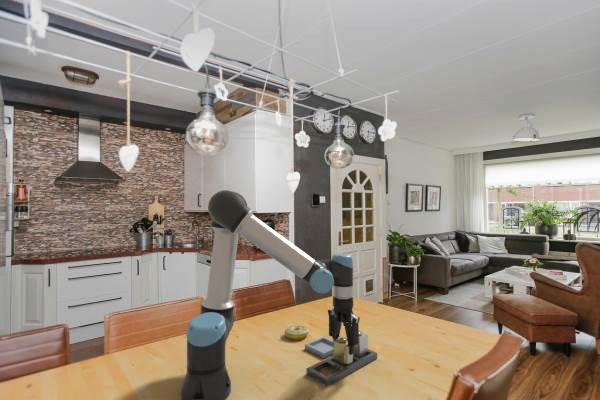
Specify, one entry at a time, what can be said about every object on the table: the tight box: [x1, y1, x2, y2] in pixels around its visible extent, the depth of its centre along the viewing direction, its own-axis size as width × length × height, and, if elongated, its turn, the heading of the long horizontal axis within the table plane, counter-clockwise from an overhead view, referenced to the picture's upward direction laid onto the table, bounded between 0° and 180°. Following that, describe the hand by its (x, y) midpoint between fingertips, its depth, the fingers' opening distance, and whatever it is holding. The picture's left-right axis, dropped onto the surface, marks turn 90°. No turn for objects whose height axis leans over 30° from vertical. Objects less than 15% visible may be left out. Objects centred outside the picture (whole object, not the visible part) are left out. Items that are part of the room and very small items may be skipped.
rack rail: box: [306, 348, 378, 387], centre depth 114 cm, size 28×10×2 cm, turn 132°
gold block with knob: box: [333, 337, 353, 367], centre depth 114 cm, size 5×5×10 cm
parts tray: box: [304, 336, 334, 360], centre depth 127 cm, size 11×11×2 cm
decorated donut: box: [284, 324, 309, 341], centre depth 140 cm, size 10×11×4 cm
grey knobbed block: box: [353, 330, 369, 359], centre depth 120 cm, size 5×5×10 cm
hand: (343, 359), depth 114 cm, fingers closed on gold block with knob, 5 cm apart
